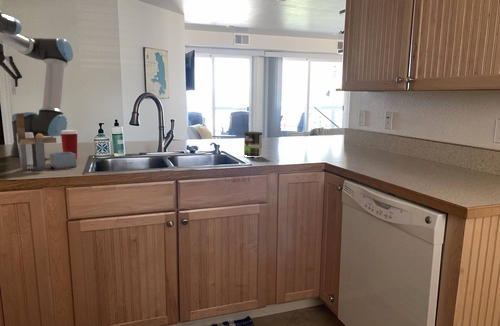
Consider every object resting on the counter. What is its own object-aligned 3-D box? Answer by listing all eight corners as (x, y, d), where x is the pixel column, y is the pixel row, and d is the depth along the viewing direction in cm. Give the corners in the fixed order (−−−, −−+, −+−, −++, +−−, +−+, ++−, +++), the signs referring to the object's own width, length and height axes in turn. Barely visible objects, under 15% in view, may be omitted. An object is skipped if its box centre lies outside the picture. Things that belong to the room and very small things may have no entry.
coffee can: (252, 158, 208) (252, 133, 206) (240, 156, 215) (240, 132, 213) (265, 157, 215) (266, 132, 212) (253, 155, 222) (253, 131, 220)
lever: (17, 143, 162) (14, 113, 160) (52, 141, 172) (50, 113, 169) (20, 145, 158) (17, 113, 156) (56, 142, 168) (54, 113, 165)
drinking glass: (20, 163, 178) (18, 132, 176) (36, 163, 181) (34, 132, 178) (17, 166, 172) (14, 133, 169) (34, 165, 174) (32, 133, 172)
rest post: (20, 169, 163) (18, 143, 162) (25, 169, 165) (23, 143, 163) (22, 171, 161) (20, 144, 159) (27, 170, 162) (25, 144, 160)
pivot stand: (29, 168, 168) (26, 138, 166) (43, 166, 172) (41, 137, 170) (34, 171, 161) (32, 139, 159) (49, 169, 166) (47, 139, 163)
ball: (34, 140, 165) (34, 133, 165) (42, 140, 168) (42, 133, 167) (36, 141, 163) (36, 133, 163) (44, 140, 165) (44, 133, 165)
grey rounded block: (50, 166, 174) (49, 153, 173) (70, 164, 180) (69, 151, 179) (56, 168, 168) (55, 155, 167) (76, 166, 173) (75, 153, 172)
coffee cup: (82, 158, 196) (81, 130, 194) (73, 161, 188) (72, 131, 186) (67, 158, 197) (65, 129, 194) (58, 160, 189) (56, 130, 186)
